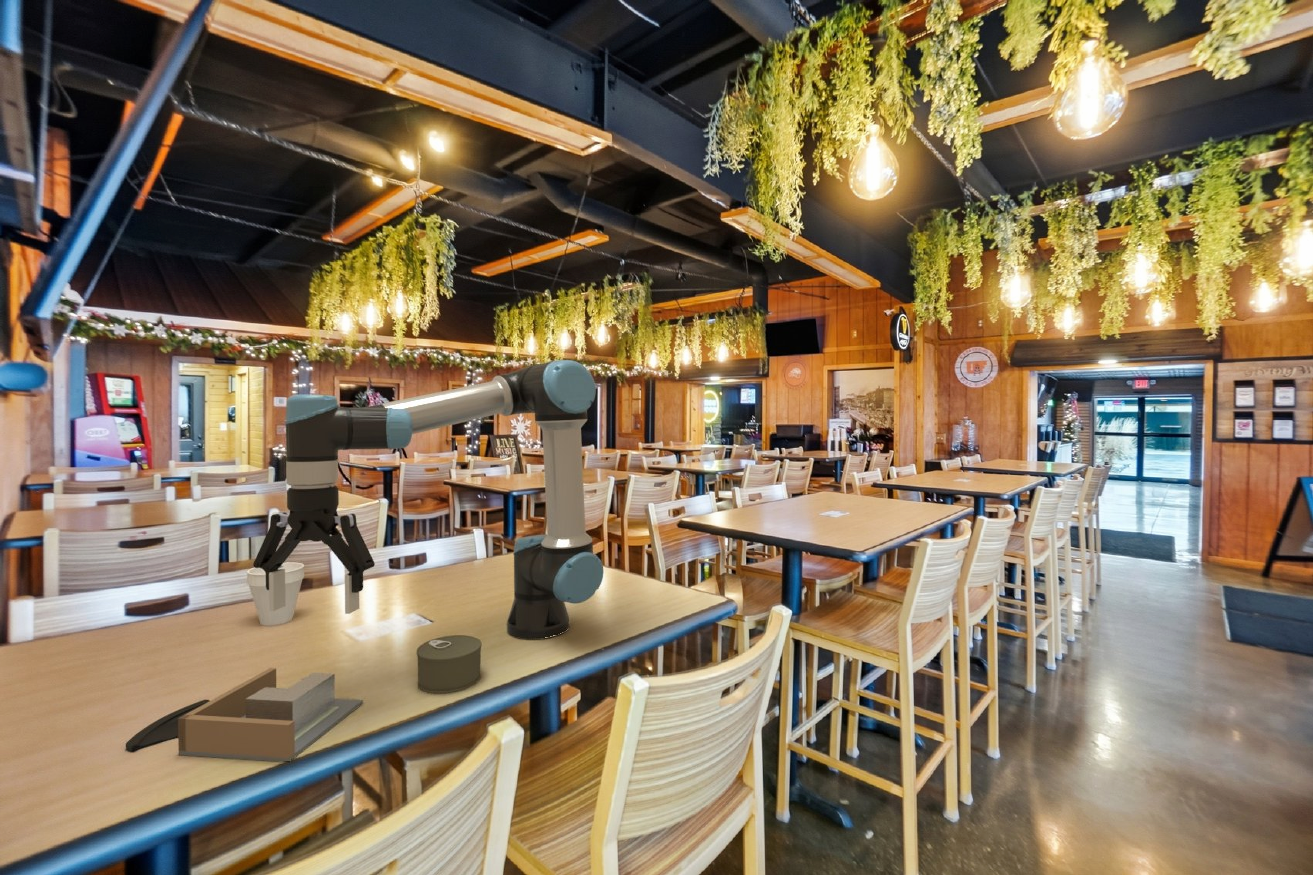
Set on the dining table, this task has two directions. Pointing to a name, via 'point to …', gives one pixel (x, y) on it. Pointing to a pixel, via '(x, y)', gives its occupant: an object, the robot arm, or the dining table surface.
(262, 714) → the bracket
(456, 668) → the can
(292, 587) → the cup
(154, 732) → the dark sector wedge
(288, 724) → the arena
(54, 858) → the dining table surface
